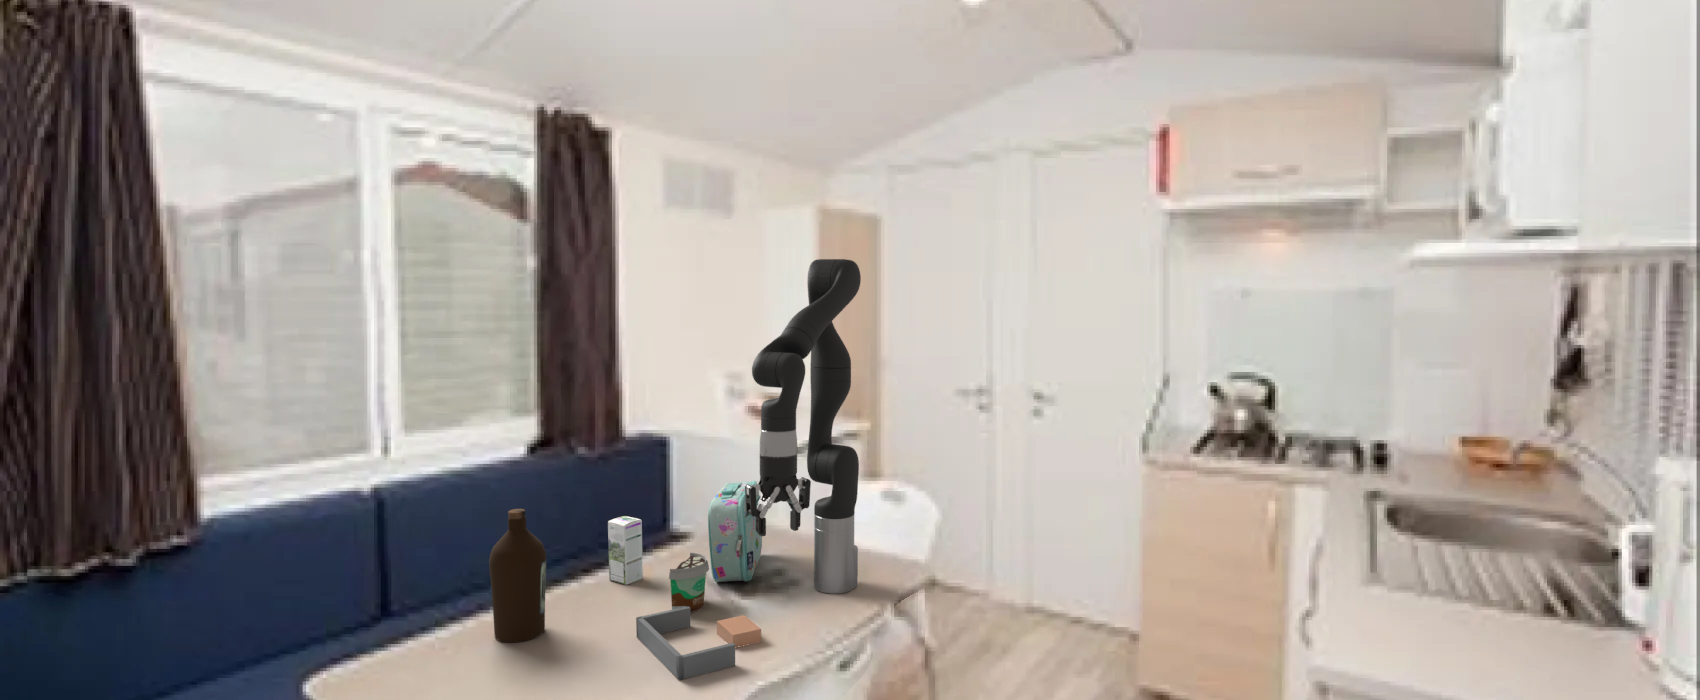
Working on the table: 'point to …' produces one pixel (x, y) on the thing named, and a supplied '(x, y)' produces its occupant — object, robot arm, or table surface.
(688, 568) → the food container
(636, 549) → the syrup box
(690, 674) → the box
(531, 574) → the olive oil
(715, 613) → the table surface
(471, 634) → the table surface
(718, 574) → the lunch box
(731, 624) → the tile
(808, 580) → the table surface
